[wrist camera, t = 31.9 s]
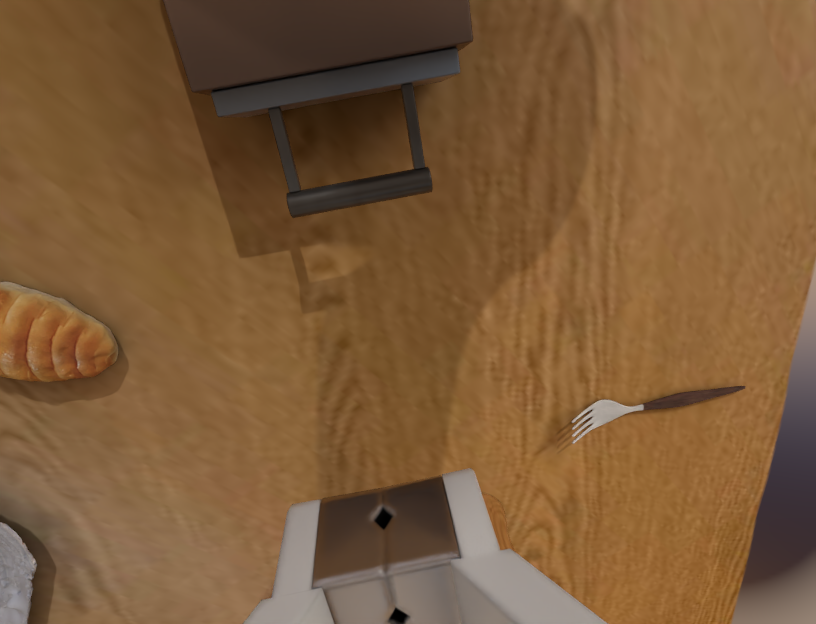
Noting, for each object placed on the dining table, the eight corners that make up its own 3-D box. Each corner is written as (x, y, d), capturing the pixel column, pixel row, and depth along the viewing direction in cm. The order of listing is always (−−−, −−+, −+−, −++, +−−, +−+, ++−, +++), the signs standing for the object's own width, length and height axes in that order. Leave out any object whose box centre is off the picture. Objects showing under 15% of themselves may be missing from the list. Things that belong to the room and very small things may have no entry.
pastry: (128, 304, 34) (101, 327, 30) (119, 384, 36) (93, 414, 32) (-22, 269, 32) (-69, 289, 28) (-21, 356, 34) (-65, 384, 31)
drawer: (454, 175, 32) (473, 187, 26) (269, 209, 31) (251, 228, 26) (403, -223, 24) (416, -321, 19) (159, -182, 24) (100, -270, 18)
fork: (739, 396, 42) (756, 409, 40) (563, 431, 42) (572, 445, 40) (742, 371, 41) (760, 383, 39) (562, 406, 41) (571, 420, 39)
